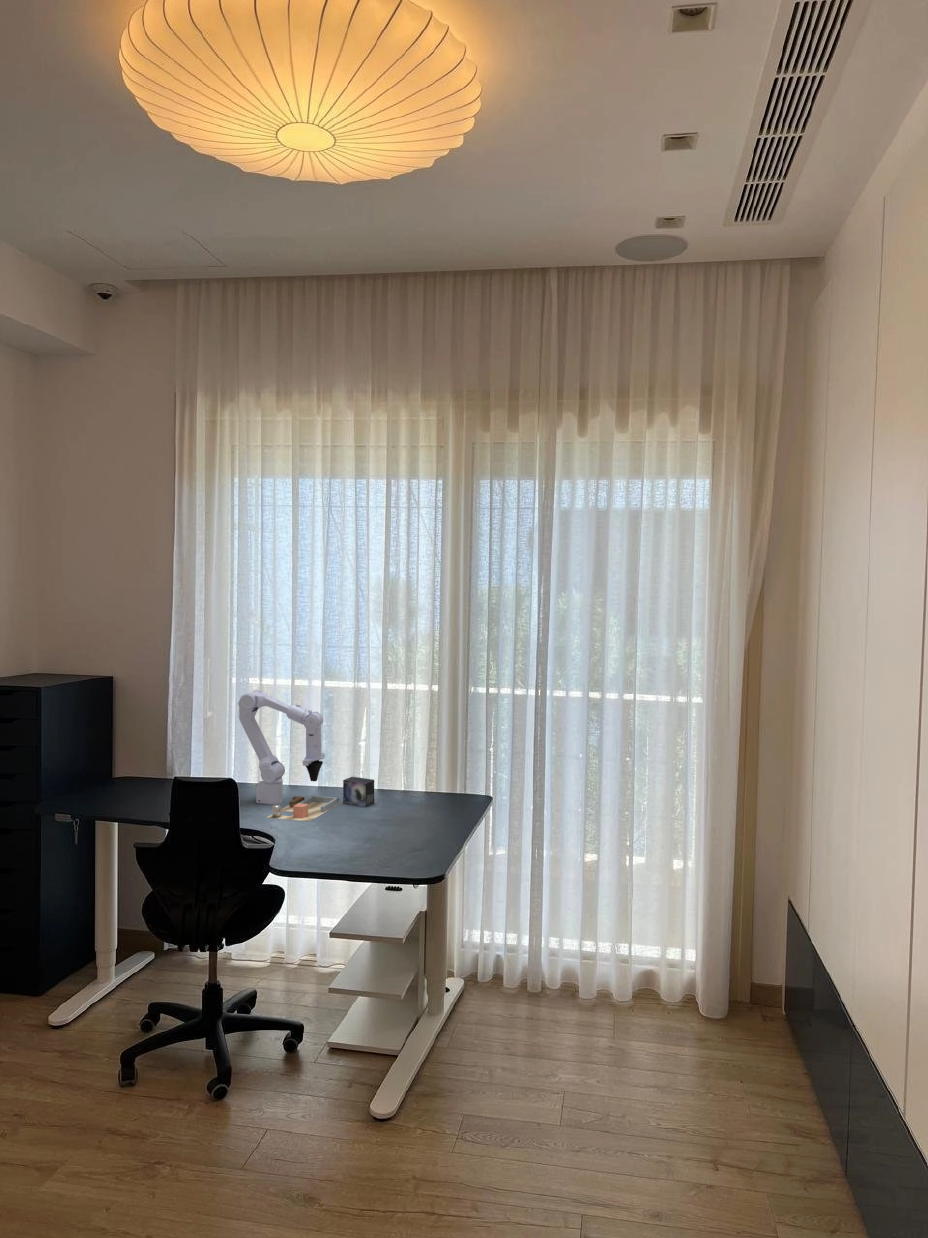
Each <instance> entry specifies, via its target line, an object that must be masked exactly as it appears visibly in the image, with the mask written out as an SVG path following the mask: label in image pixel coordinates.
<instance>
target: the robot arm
mask: <svg viewBox="0 0 928 1238" xmlns="http://www.w3.org/2000/svg"><path fill="white" fill-rule="evenodd" d="M239 698H240V699H239V700H238V703H237V706H238V707H239V708H238V719H239V722H240V724H241V726H242V728H243V730H244V732H245V734H246V736H247V738H248V741H249V743H250V745H251V746H252V748H253V751H254V752H255V754H256V756H257V758H258V760H259V763H258V764H259V765H258V769H259V771H260V777H261V780H259V782H258V783H257V785H256V791H255V795H256V797H255V798H256V802H255V803H257V804H263V805H277V804H278V805H280V804H282V803H283V801H284V794H283V793H284V792H283V791H284V788H283V787H284V785H283V783H284V782H283V780H284V779H283V776H284V775H285V772H286V768H285V765H284V764H283V763H282V762H281V761H279V759H278V757H277V756H276V755H274V754H273V752H272V751H271V748H270V746H269V744H268V743H267V740H266V738H265V736H264V734H263V732H262V730H261V728H260V726H259V724H258V722H257V719H256V716H257V712H258V710H259V709H260V708H263V707H268V708H271V709H274V710H275V711H278V712H281V713H283V714H285V715H286V717H287V719H288V720H291V721H294V722H297V724H301V725H303V727H304V728H305V757H304V758H303V760H302V766H304V767H306V770H307V772H308V776H309V779H310V782H317V781H318V778H319V774H320V770H321V768H322V765H323V764H324V762H323V760H324V759H325V752H322V725H323V723H324V717H323V715H322V714H321V713H320V712H318V711H313V710H311V709H307V708H304V707H302V705H301V704H299V703H297V704H291V705H290V704H288V703H285V702H284V701H281V700H280V699H278V698H276V697H273V696H271V695H269V694H268V693H267V692H263V691H261V690H258V689H255V690H252V691H250V692H246V693H243V694H242V695H241V696H240V697H239Z"/></svg>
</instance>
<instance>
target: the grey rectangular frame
mask: <svg viewBox="0 0 928 1238" xmlns="http://www.w3.org/2000/svg"><path fill="white" fill-rule="evenodd" d="M339 800H340V799H339V797H333V796H321V795H311V796H309V797H307V798H304V800H303V801H301V802H300V804H310V803H312V802H322V803H326V804H325V805H323V806H321V812H325V811H326V810H328V809H330V808H331V807H333V806H335V805H336V804H338V803H340V802H339ZM338 805H339V804H338ZM336 806H337V805H336ZM336 806H335V807H336ZM333 808H334V807H333ZM331 809H332V808H331ZM331 809H330V810H331ZM328 811H329V810H328ZM326 812H327V811H326ZM326 812H325V813H326Z"/></svg>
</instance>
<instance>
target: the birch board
mask: <svg viewBox="0 0 928 1238" xmlns="http://www.w3.org/2000/svg"><path fill="white" fill-rule="evenodd" d="M325 804H326V803H322V802H312V803H310V804H308V816H306V817H304V818H296V817H293V814H292V815H281V817H279V818H275V819H277V820H278V819H279V820H289V821H299V822H300V821H301V822H311V821H313V820H315V819H316V818H318V817H320V816H321V815H323V814H324V813H326V812H328V811H330V810H331V809H334V807H336V806H338V805H339V804H341V802H339V803H338V804H336V805H335V806H333V807H331V808H330V809H328V810H326V811H325V812H321V806H323V805H325ZM283 812H291V813H293V807H290V804H288V805H286V806H285V807H283V808H281V813H283ZM266 818H267V819H268V818H269V819H274V818H273V817H272V814H270V815H268V816H266Z"/></svg>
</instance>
